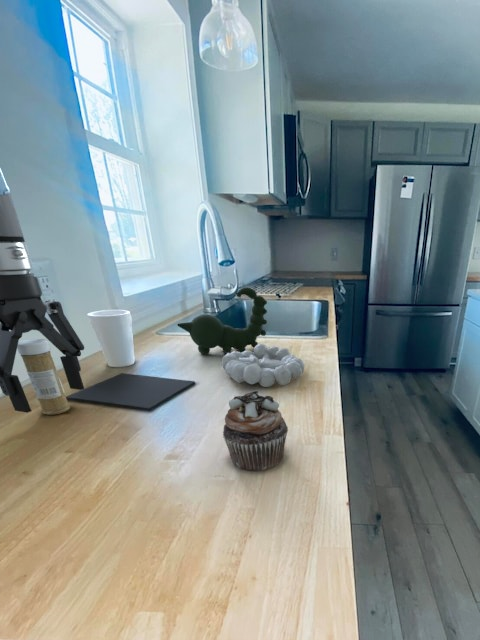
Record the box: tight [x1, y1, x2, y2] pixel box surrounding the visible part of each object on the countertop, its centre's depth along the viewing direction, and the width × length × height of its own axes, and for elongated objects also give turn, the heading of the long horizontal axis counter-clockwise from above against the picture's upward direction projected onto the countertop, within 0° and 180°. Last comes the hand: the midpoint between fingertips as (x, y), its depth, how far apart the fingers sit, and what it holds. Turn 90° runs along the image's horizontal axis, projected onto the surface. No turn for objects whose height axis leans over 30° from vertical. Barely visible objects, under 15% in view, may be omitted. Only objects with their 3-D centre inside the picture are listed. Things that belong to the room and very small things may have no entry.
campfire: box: [221, 343, 306, 388], centre depth 89 cm, size 22×21×6 cm
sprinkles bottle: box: [17, 338, 71, 416], centre depth 67 cm, size 5×5×13 cm
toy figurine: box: [176, 287, 268, 356], centre depth 105 cm, size 9×19×25 cm
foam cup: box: [86, 309, 136, 368], centre depth 94 cm, size 10×9×13 cm
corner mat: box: [66, 372, 196, 412], centre depth 80 cm, size 20×16×1 cm
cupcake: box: [222, 390, 289, 472], centre depth 54 cm, size 10×10×10 cm
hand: (52, 398), depth 69 cm, fingers open, 11 cm apart
